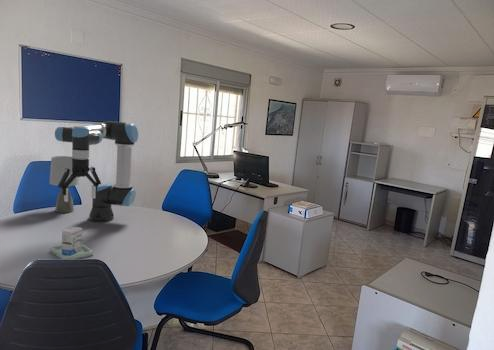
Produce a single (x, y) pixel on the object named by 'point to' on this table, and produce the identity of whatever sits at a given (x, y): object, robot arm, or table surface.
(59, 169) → the lamp
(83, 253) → the tray
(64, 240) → the ink box
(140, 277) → the table surface
